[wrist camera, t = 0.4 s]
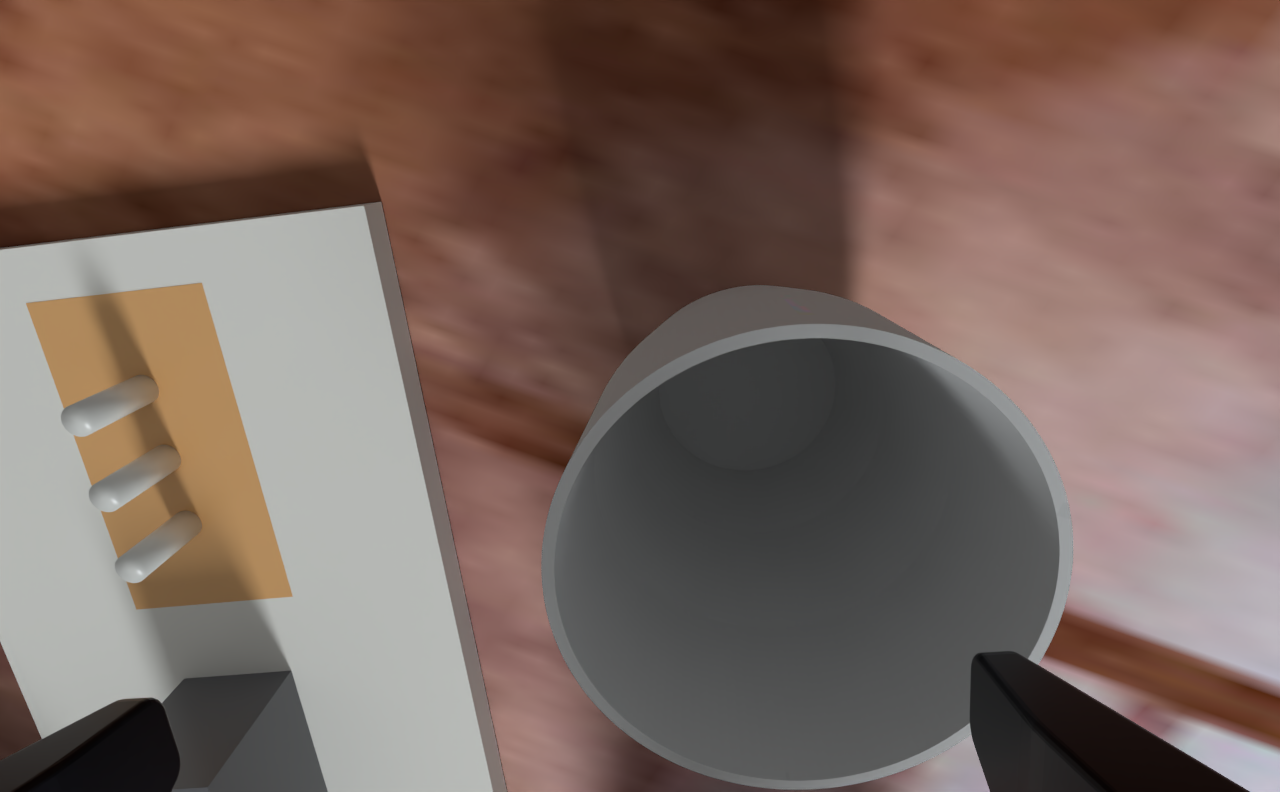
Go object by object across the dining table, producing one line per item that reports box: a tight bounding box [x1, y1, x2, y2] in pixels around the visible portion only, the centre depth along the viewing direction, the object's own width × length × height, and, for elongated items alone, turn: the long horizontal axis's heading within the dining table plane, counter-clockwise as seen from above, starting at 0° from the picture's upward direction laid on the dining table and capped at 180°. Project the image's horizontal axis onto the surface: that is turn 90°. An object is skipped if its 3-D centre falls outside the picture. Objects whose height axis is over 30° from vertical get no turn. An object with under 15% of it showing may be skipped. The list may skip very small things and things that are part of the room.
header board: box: [0, 202, 507, 792], centre depth 23 cm, size 22×14×4 cm, turn 7°
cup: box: [542, 285, 1073, 790], centre depth 17 cm, size 8×8×10 cm
